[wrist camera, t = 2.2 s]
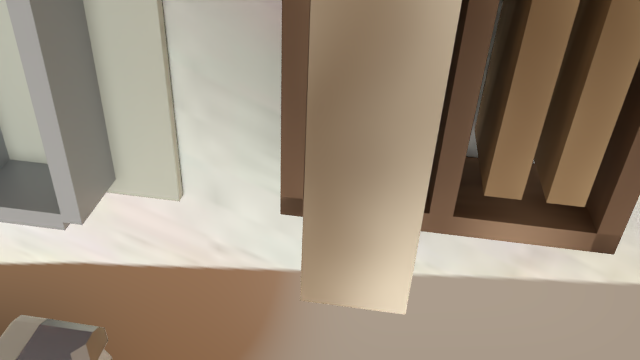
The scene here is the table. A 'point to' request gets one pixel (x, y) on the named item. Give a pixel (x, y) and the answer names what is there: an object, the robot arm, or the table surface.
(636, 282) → the table surface
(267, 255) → the table surface
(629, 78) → the offcut
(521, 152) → the offcut
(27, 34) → the grey stand
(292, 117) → the walnut rack
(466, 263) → the table surface
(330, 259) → the pale wooden block
